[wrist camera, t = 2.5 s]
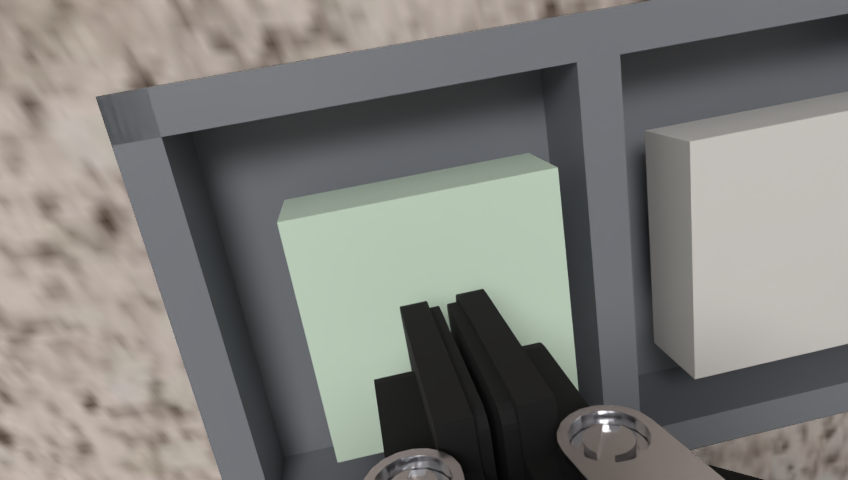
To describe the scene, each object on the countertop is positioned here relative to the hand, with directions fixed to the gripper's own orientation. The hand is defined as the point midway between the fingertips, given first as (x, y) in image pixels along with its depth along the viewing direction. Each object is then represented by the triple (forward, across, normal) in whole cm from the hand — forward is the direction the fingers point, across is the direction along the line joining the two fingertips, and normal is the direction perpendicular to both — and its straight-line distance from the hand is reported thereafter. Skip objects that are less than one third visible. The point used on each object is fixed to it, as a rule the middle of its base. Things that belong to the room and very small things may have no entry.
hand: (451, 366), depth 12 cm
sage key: (+4, 0, 0) cm, 4 cm away
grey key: (+4, -9, 0) cm, 10 cm away
